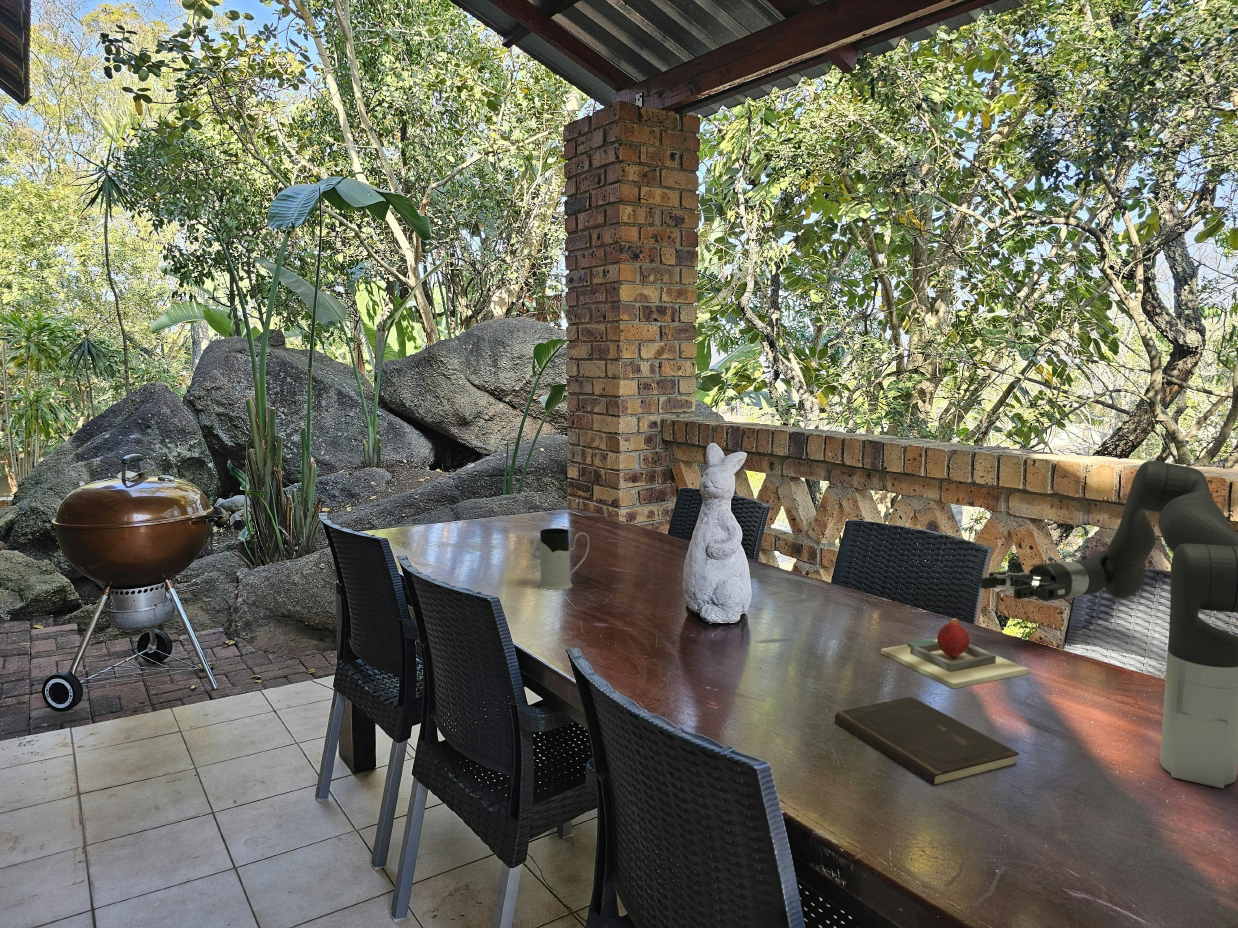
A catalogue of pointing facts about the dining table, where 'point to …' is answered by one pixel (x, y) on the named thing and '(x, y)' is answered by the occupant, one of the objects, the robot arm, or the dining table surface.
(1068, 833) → the dining table surface
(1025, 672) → the cradle board
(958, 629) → the onion
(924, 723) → the hardcover book
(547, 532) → the glass holder
